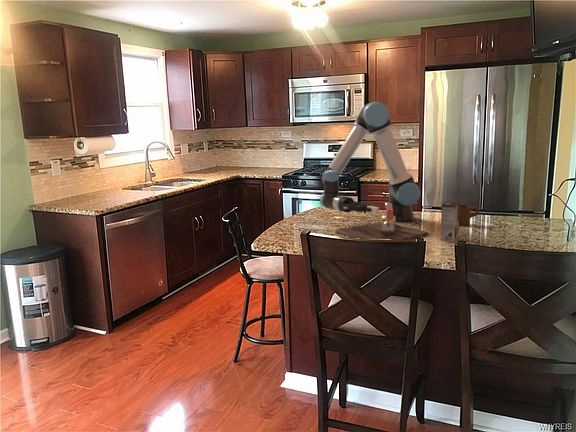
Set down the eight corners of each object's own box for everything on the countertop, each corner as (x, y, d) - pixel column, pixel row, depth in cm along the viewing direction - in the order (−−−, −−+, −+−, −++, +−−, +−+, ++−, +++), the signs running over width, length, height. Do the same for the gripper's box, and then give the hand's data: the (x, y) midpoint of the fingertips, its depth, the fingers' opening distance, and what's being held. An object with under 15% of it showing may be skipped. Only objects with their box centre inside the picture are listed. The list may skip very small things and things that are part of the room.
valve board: (383, 224, 239) (383, 221, 239) (428, 235, 214) (428, 232, 214) (335, 233, 223) (335, 230, 223) (379, 246, 198) (379, 243, 198)
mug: (476, 222, 236) (477, 204, 234) (480, 226, 229) (481, 207, 227) (452, 223, 238) (452, 204, 236) (455, 226, 230) (456, 207, 228)
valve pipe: (381, 225, 233) (382, 205, 230) (395, 225, 231) (395, 205, 229) (380, 236, 211) (381, 214, 209) (395, 237, 209) (395, 214, 207)
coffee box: (444, 236, 213) (445, 201, 209) (458, 237, 209) (460, 202, 206) (439, 240, 205) (440, 204, 202) (454, 242, 202) (456, 205, 198)
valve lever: (384, 210, 221) (385, 201, 220) (391, 210, 220) (391, 201, 219) (386, 219, 200) (386, 209, 199) (393, 220, 199) (393, 210, 199)
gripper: (353, 209, 232) (388, 217, 213) (333, 213, 225) (367, 221, 206) (353, 194, 230) (388, 200, 211) (333, 198, 224) (367, 204, 204)
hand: (377, 210), depth 208 cm, fingers closed
